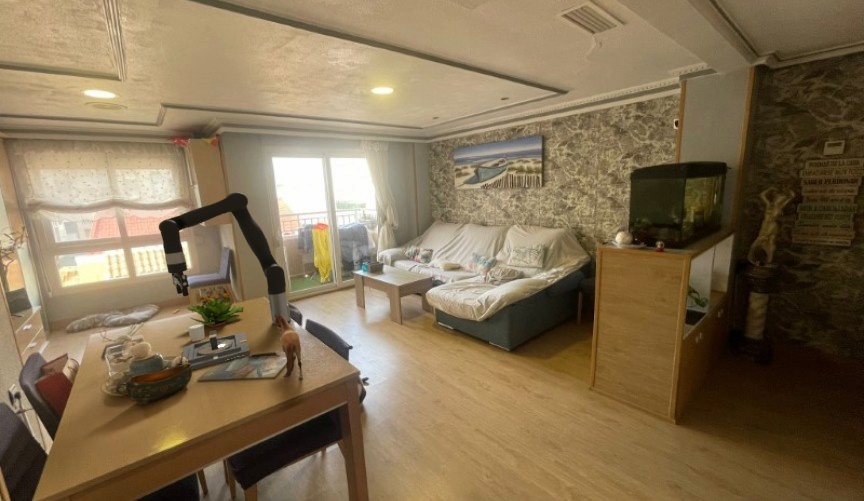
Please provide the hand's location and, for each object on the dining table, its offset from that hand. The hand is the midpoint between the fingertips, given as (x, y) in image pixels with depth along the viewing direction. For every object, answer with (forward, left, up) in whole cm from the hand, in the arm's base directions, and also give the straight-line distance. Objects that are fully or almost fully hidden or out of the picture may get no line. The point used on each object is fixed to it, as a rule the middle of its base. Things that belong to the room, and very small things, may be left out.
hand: (183, 294), depth 167 cm
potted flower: (-10, -27, -27) cm, 40 cm away
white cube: (-2, -9, -27) cm, 28 cm away
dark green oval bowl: (+8, +46, -27) cm, 54 cm away
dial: (-10, +17, -24) cm, 31 cm away
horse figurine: (-34, +58, -27) cm, 72 cm away
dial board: (-10, +17, -27) cm, 33 cm away
